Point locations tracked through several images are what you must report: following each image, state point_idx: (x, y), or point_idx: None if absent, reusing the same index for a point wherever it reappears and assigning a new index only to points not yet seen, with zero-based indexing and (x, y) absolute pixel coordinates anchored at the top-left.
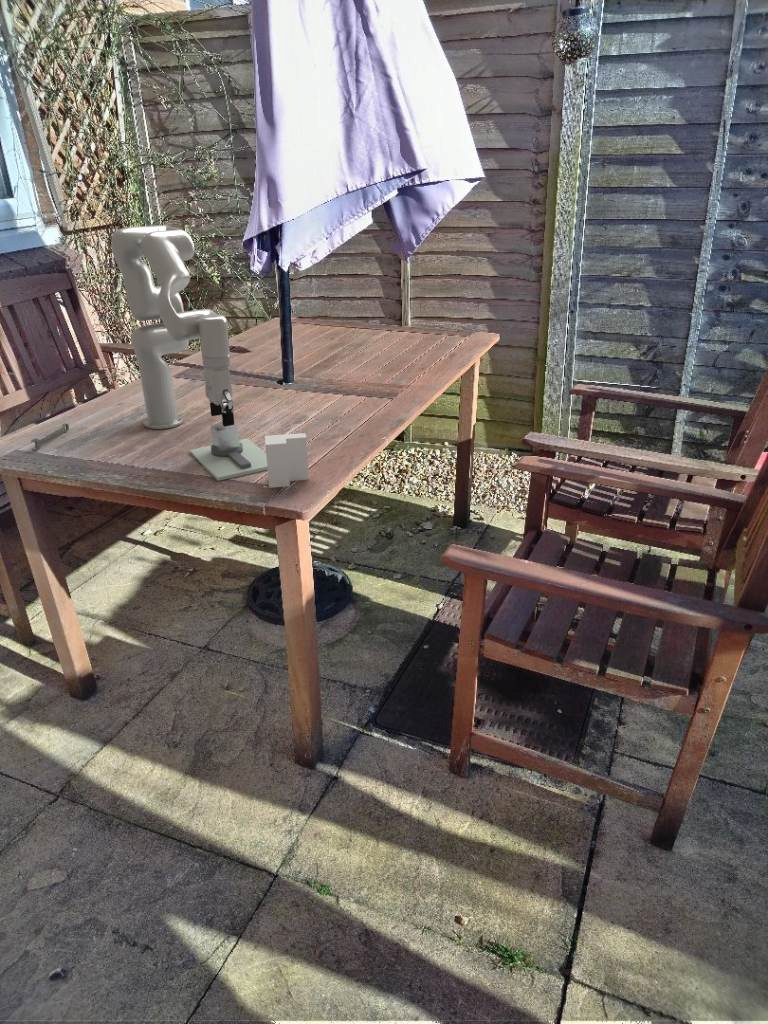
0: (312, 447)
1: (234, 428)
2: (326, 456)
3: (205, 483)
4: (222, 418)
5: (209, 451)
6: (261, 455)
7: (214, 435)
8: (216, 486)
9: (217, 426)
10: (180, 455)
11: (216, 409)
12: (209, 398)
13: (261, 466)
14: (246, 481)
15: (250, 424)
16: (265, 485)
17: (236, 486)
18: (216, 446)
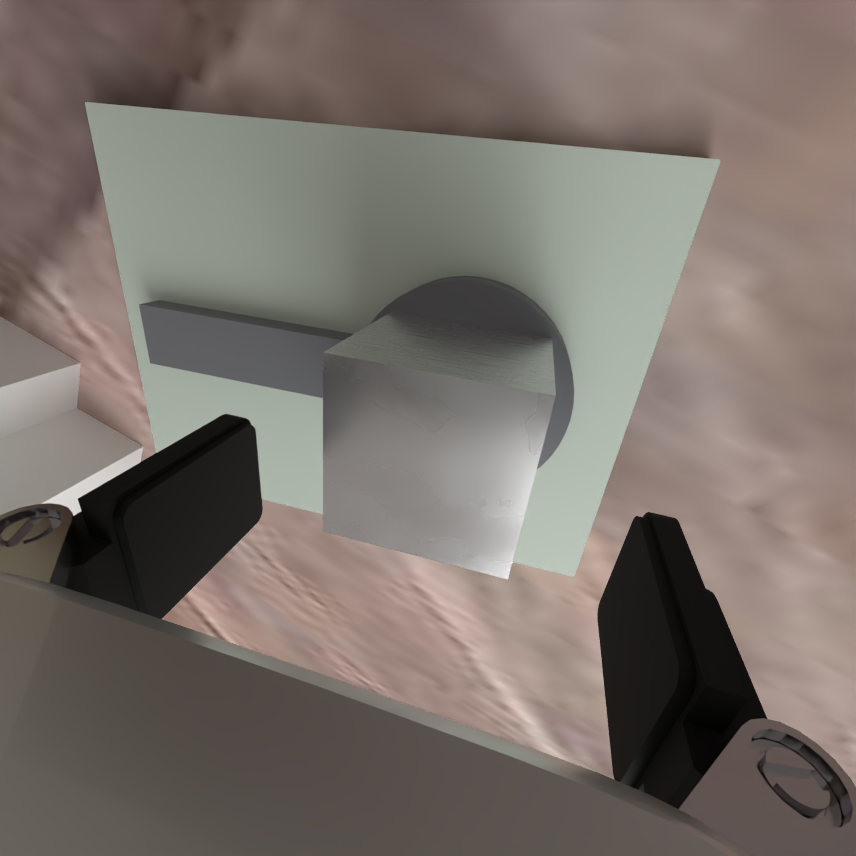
0: (309, 658)
1: (323, 503)
2: (205, 627)
3: (95, 6)
4: (165, 456)
5: (549, 288)
6: (290, 479)
7: (468, 352)
8: (36, 59)
9: (466, 428)
10: (741, 54)
11: (627, 627)
12: (364, 761)
13: (157, 398)
14: (64, 254)
15: (815, 721)
16: (3, 304)
17: (16, 173)
18: (463, 325)
